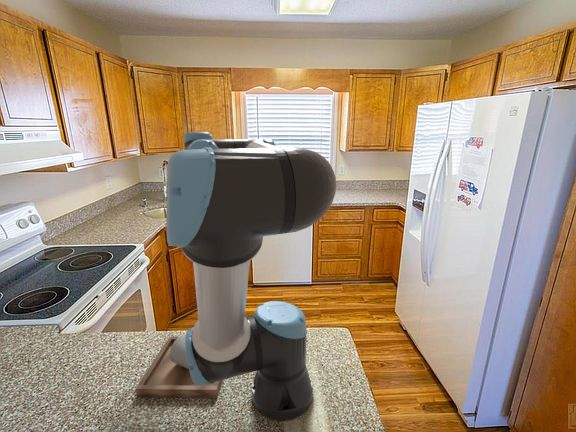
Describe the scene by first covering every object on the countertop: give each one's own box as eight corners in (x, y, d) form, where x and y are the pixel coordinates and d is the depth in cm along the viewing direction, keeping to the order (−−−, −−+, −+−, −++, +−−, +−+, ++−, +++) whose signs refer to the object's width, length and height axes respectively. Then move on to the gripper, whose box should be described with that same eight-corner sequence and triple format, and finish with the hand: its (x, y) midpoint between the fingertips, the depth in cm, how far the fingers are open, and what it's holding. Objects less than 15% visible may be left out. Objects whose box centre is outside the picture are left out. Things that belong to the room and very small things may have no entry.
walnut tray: (233, 343, 91) (233, 336, 91) (217, 398, 72) (216, 389, 71) (170, 343, 92) (169, 336, 91) (136, 397, 72) (135, 388, 72)
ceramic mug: (192, 378, 77) (190, 352, 75) (170, 368, 80) (167, 343, 78) (219, 353, 86) (217, 330, 84) (197, 345, 89) (196, 322, 88)
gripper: (243, 190, 80) (247, 262, 85) (186, 183, 94) (192, 246, 99) (222, 194, 74) (227, 272, 79) (165, 186, 88) (173, 252, 93)
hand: (208, 257), depth 89 cm, fingers open, 13 cm apart
